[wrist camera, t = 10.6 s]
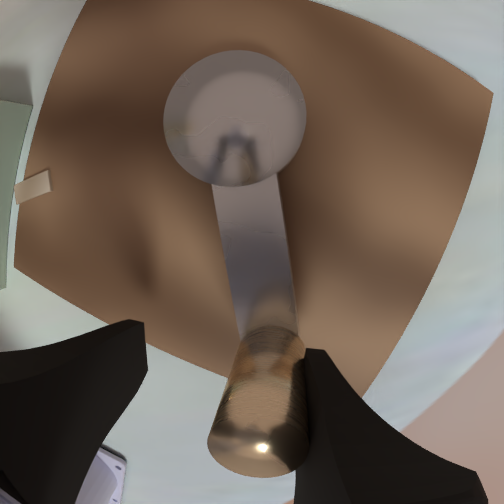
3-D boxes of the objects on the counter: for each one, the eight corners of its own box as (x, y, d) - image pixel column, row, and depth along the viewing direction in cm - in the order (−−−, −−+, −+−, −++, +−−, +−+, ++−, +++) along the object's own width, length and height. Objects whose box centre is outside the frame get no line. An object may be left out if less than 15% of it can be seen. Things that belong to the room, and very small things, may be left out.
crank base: (346, 403, 14) (349, 418, 13) (19, 258, 15) (5, 264, 13) (482, 97, 10) (495, 92, 9) (101, -14, 10) (90, -23, 9)
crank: (175, 83, 10) (80, 20, 5) (292, 59, 10) (288, -42, 4) (226, 362, 13) (184, 473, 7) (331, 353, 12) (350, 471, 6)
